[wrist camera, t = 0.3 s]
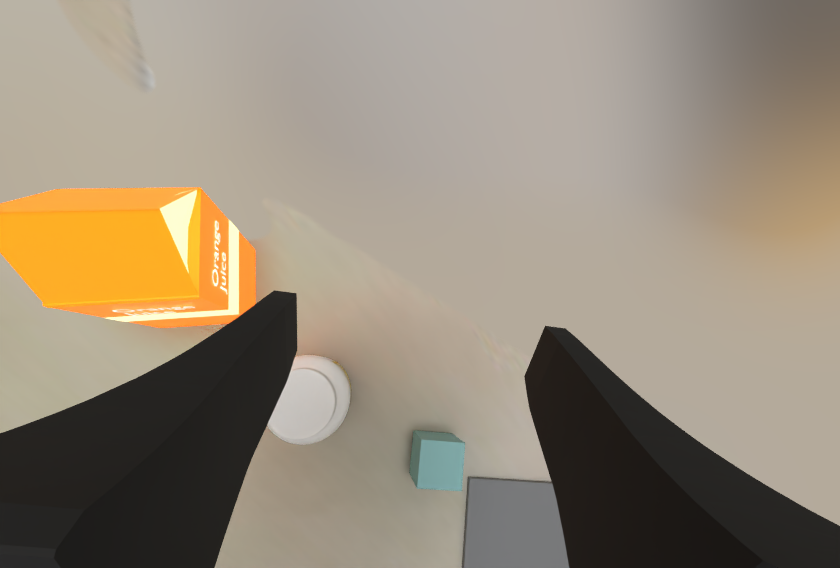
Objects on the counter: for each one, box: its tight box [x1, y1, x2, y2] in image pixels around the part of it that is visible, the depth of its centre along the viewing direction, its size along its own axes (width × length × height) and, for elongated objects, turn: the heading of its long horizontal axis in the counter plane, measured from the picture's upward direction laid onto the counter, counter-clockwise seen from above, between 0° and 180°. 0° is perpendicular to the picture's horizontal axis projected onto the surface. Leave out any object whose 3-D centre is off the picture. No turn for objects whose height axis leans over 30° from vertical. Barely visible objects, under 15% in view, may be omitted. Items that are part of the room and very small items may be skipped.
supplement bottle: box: [267, 355, 351, 445], centre depth 32 cm, size 7×7×13 cm
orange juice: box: [0, 187, 256, 328], centre depth 29 cm, size 8×9×20 cm
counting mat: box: [462, 477, 569, 568], centre depth 38 cm, size 12×12×1 cm
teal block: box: [409, 430, 465, 491], centre depth 37 cm, size 4×4×5 cm
